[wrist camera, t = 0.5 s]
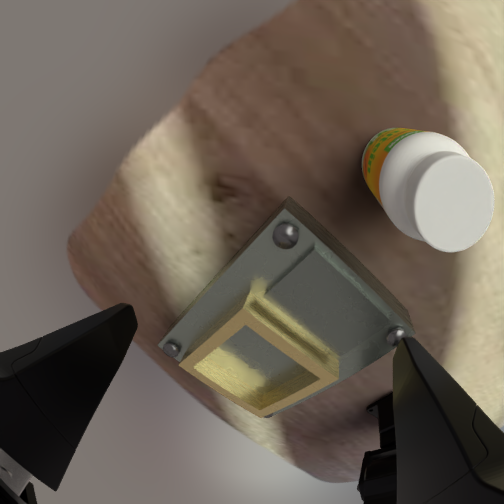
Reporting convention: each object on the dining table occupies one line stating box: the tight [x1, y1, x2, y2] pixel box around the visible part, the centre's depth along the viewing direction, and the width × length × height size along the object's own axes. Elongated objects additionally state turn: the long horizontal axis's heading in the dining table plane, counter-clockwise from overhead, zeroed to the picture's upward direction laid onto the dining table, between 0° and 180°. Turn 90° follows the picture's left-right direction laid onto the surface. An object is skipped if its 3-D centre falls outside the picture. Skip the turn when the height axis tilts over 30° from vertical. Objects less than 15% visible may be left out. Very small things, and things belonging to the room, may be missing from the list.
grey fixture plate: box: [158, 196, 415, 418], centre depth 23 cm, size 14×18×5 cm
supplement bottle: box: [362, 128, 494, 252], centre depth 13 cm, size 5×5×10 cm
